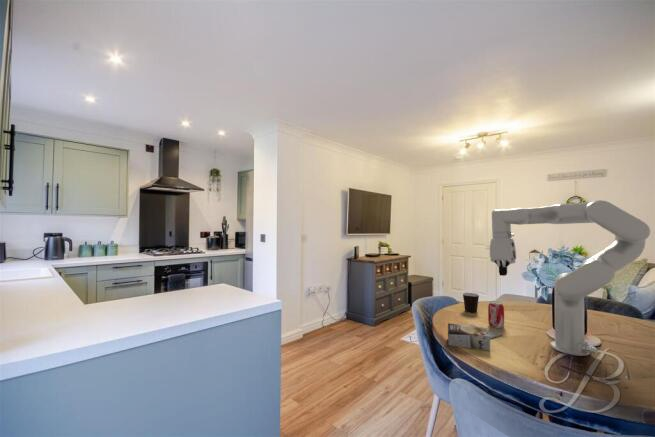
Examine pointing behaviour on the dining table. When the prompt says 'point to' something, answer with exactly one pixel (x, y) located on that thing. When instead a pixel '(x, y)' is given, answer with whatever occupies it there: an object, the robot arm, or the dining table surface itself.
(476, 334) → the coffee box
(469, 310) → the coffee mug
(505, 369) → the dining table surface
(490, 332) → the mat
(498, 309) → the soda can
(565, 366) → the fork
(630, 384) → the dining table surface
